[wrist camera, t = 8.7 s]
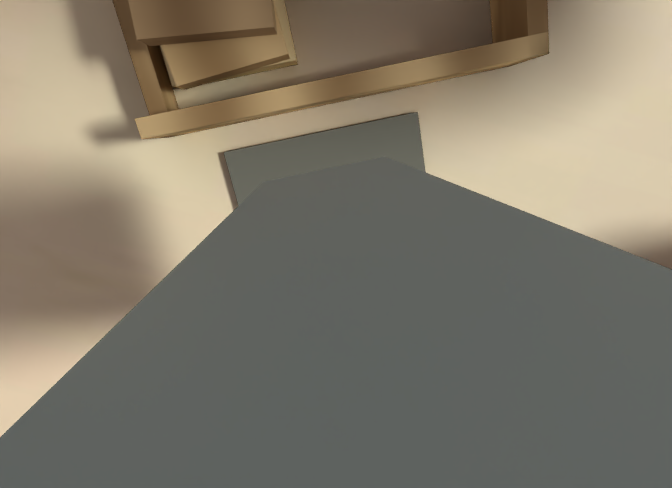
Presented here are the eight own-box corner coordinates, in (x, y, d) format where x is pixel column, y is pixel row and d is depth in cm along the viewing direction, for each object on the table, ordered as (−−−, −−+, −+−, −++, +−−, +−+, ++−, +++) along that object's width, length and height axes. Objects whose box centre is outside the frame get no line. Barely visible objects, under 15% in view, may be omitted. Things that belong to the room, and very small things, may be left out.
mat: (416, 112, 24) (417, 112, 23) (439, 289, 27) (440, 291, 27) (225, 151, 24) (223, 152, 24) (272, 322, 27) (271, 325, 27)
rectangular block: (384, 156, 13) (1157, 459, 1) (425, 409, 15) (746, 1241, 4) (263, 181, 13) (-316, 741, 1) (326, 429, 15) (352, 1307, 4)
